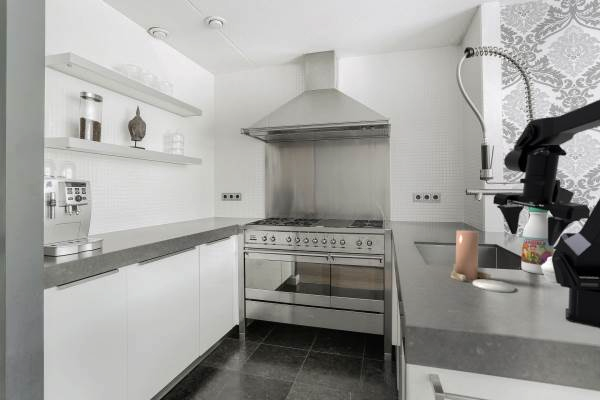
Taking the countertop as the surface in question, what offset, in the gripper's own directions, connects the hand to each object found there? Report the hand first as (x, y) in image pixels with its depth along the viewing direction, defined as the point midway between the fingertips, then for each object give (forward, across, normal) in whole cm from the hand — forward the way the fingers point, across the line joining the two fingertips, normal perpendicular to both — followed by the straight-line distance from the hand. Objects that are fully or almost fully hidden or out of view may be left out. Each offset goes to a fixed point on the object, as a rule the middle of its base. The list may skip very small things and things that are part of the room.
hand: (531, 239), depth 74 cm
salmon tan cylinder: (+14, +12, +6) cm, 20 cm away
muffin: (+14, +4, -15) cm, 21 cm away
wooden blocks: (+14, +12, +6) cm, 20 cm away
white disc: (+13, +3, +6) cm, 15 cm away
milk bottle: (+16, +13, -21) cm, 29 cm away
